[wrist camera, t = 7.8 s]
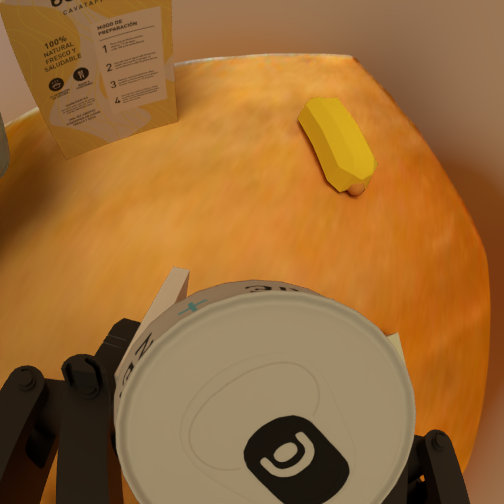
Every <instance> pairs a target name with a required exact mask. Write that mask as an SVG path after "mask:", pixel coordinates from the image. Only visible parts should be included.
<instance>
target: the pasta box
mask: <svg viewBox="0 0 504 504" xmlns="http://www.w3.org/2000/svg"><path fill="white" fill-rule="evenodd" d="M171 8H172V5H171V0H2V1H1V2H0V13H1V16H2V20H3V23H4V26H5V29H6V32H7V34H8V37H9V40H10V43H11V46H12V48H13V51H14V53H15V56H16V58H17V61H18V63H19V66H20V68H21V70H22V73H23V75H24V78H25V80H26V82H27V84H28V87H29V89H30V91H31V93H32V95H33V97H34V99H35V101H36V104H37V106H38V108H39V110H40V112H41V114H42V116H43V118H44V120H45V122H46V123H47V125H48V127H49V129H50V131H51V133H52V135H53V137H54V138H55V140H56V142H57V144H58V146H59V147H60V149H61V151H62V153H63V154H64V156H65V158H66V160H68V159H70V158H73V157H75V156H77V155H80V154H82V153H85V152H87V151H90V150H92V149H95V148H98V147H100V146H103V145H106V144H108V143H111V142H114V141H117V140H120V139H123V138H125V137H128V136H131V135H135V134H138V133H141V132H144V131H147V130H151V129H154V128H157V127H161V126H164V125H168V124H172V123H175V122H178V119H177V107H176V95H175V80H174V64H173V43H172V9H171Z"/></svg>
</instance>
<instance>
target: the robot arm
mask: <svg viewBox="0 0 504 504" xmlns="http://www.w3.org/2000/svg"><path fill="white" fill-rule="evenodd" d="M9 161H10V153H9V145H8V140H7V136H6V132H5V128H4V124H3V120H2V117H1V114H0V178H1V177H2V176H3V175H4V174H5V173H6V171H7V169H8V166H9ZM189 272H190V270H187V269H182V268H178V267H174V266H173V268H172V270H171V272H170V273H169V275H168V277H167V278H166V280H165V282H164V284H163V285H162V287H161V289H160V291H159V292H158V294H157V296H156V298H155V299H154V301H153V303H152V305H151V306H150V308H149V310H148V312H147V314H146V316H145V317H144V319H143V321H142V323H140V322H136V321H133V320H129V319H126V318H123V319H122V320H120V321H119V322H117V323H116V324H114V326H113V327H112V329H111V330H110V332H109V333H108V336H106V338H105V340H104V341H103V343H102V344H101V346H100V348H99V349H98V351H97V353H96V354H95V356H91V355H87V354H77V355H75V356H72V357H70V358H68V359H67V360H66V361H65V362H64V363H63V365H62V367H61V370H62V373H63V376H64V379H65V381H62V380H54V379H46V378H44V376H43V374H42V373H41V371H40V370H38V369H37V368H35V367H33V366H29V365H27V366H21V367H18V368H16V369H15V370H14V371H13V372H12V373H11V374H10V376H9V377H8V379H7V380H6V382H5V384H4V385H3V387H2V388H1V390H0V504H40V500H41V497H42V493H43V490H44V487H45V484H46V481H47V478H48V475H49V472H50V469H51V466H52V463H53V460H54V458H55V455H56V452H57V450H58V459H57V476H56V504H124V502H123V491H122V479H121V465H120V461H119V458H118V454H117V450H116V430H115V425H114V394H115V390H116V386H117V381H118V377H119V373H120V370H121V368H122V365H123V363H124V361H125V359H126V357H127V355H128V353H129V351H130V349H131V347H132V345H133V344H134V343H135V342H136V340H137V339H138V338H139V337H140V335H141V334H142V333H143V332H144V330H145V329H146V328H147V327H148V325H149V324H150V323H151V322H152V321H154V320H155V319H156V318H157V317H158V316H160V315H161V314H162V313H163V312H164V311H166V310H167V309H168V308H169V307H171V306H172V305H173V304H175V303H177V302H179V301H181V300H183V299H185V298H186V296H187V288H188V280H189ZM333 300H334V299H333ZM422 475H424V479H425V481H423V482H422V481H421V479H420V477H421V476H422ZM381 504H470V502H469V497H468V494H467V490H466V486H465V483H464V479H463V476H462V473H461V469H460V466H459V463H458V460H457V457H456V454H455V451H454V448H453V445H452V442H451V440H450V438H449V437H448V435H446V434H445V433H444V432H443V431H441V430H435V429H434V430H431V431H429V432H428V433H427V434H426V435H425V436H424V437H423V436H418V435H414V440H413V443H412V447H411V450H410V453H409V457H408V460H407V463H406V465H405V467H404V469H403V471H402V473H401V475H400V477H399V479H398V481H397V482H396V484H395V486H394V487H393V489H392V490H391V491H390V493H389V494H388V495H387V497H386V498H385V499H384V501H383V502H382V503H381Z"/></svg>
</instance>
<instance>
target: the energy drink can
mask: <svg viewBox="0 0 504 504" xmlns="http://www.w3.org/2000/svg"><path fill="white" fill-rule="evenodd" d="M415 421H416V408H415V398H414V390H413V387H412V383H411V380H410V377H409V374H408V371H407V368H406V366H405V364H404V362H403V360H402V359H401V357H400V355H399V353H398V351H397V350H396V348H395V346H394V345H393V344H392V343H391V341H390V340H389V339H388V338H387V337H386V336H385V335H384V333H383V332H382V331H381V330H380V329H379V328H378V327H377V326H376V325H375V324H373V323H372V322H371V321H369V320H368V319H367V318H365V317H364V316H363V315H361V314H360V313H359V312H357V311H356V310H354V309H352V308H350V307H348V306H345V305H343V304H341V303H339V302H337V301H335V300H333V299H330V298H327V297H324V296H322V295H320V294H318V293H316V292H314V291H312V290H310V289H308V288H304V287H300V286H296V285H292V284H288V283H285V282H279V281H264V280H247V281H238V282H230V283H224V284H220V285H217V286H214V287H211V288H208V289H204V290H201V291H198V292H196V293H194V294H192V295H190V296H188V297H187V298H185V299H183V300H181V301H179V302H177V303H175V304H173V305H172V306H171V307H169V308H168V309H167V310H166V311H164V312H163V313H162V314H161V315H160V316H158V317H157V318H156V319H155V320H154V321H152V322H151V323H150V324H149V325H148V327H147V328H146V329H145V330H144V332H143V333H142V334H141V335H140V337H139V338H138V339H137V340H136V342H135V343H134V344H133V345H132V347H131V349H130V351H129V353H128V355H127V357H126V359H125V361H124V363H123V365H122V368H121V370H120V373H119V377H118V381H117V386H116V390H115V394H114V425H115V430H116V450H117V454H118V458H119V461H120V465H121V469H122V472H123V475H124V477H125V479H126V481H127V483H128V485H129V487H130V489H131V490H132V492H133V494H134V496H135V497H136V499H137V501H138V502H139V503H140V504H381V503H382V502H383V501H384V499H385V498H386V497H387V495H388V494H389V493H390V491H391V490H392V489H393V487H394V486H395V484H396V482H397V481H398V479H399V477H400V475H401V473H402V471H403V469H404V467H405V465H406V463H407V460H408V457H409V453H410V450H411V447H412V443H413V440H414V432H415Z"/></svg>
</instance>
